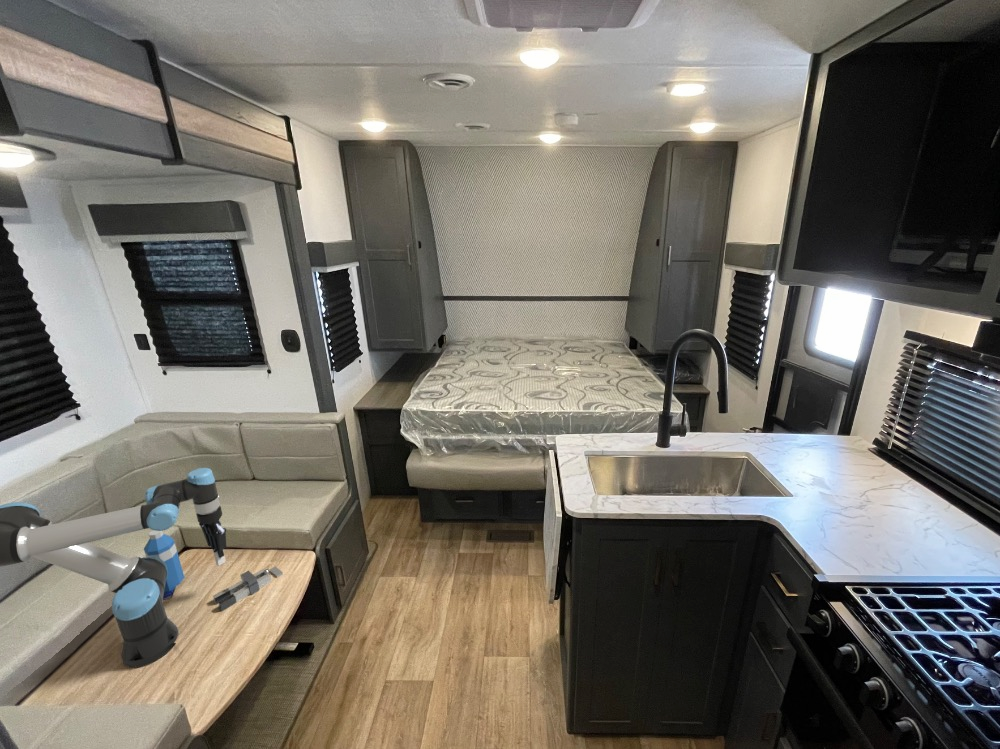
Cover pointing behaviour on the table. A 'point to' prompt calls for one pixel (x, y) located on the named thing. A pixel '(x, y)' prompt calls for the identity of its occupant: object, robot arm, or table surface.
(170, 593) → the smartphone
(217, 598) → the arm
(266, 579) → the tongs fixed
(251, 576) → the collar
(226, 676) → the table surface
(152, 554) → the water bottle
